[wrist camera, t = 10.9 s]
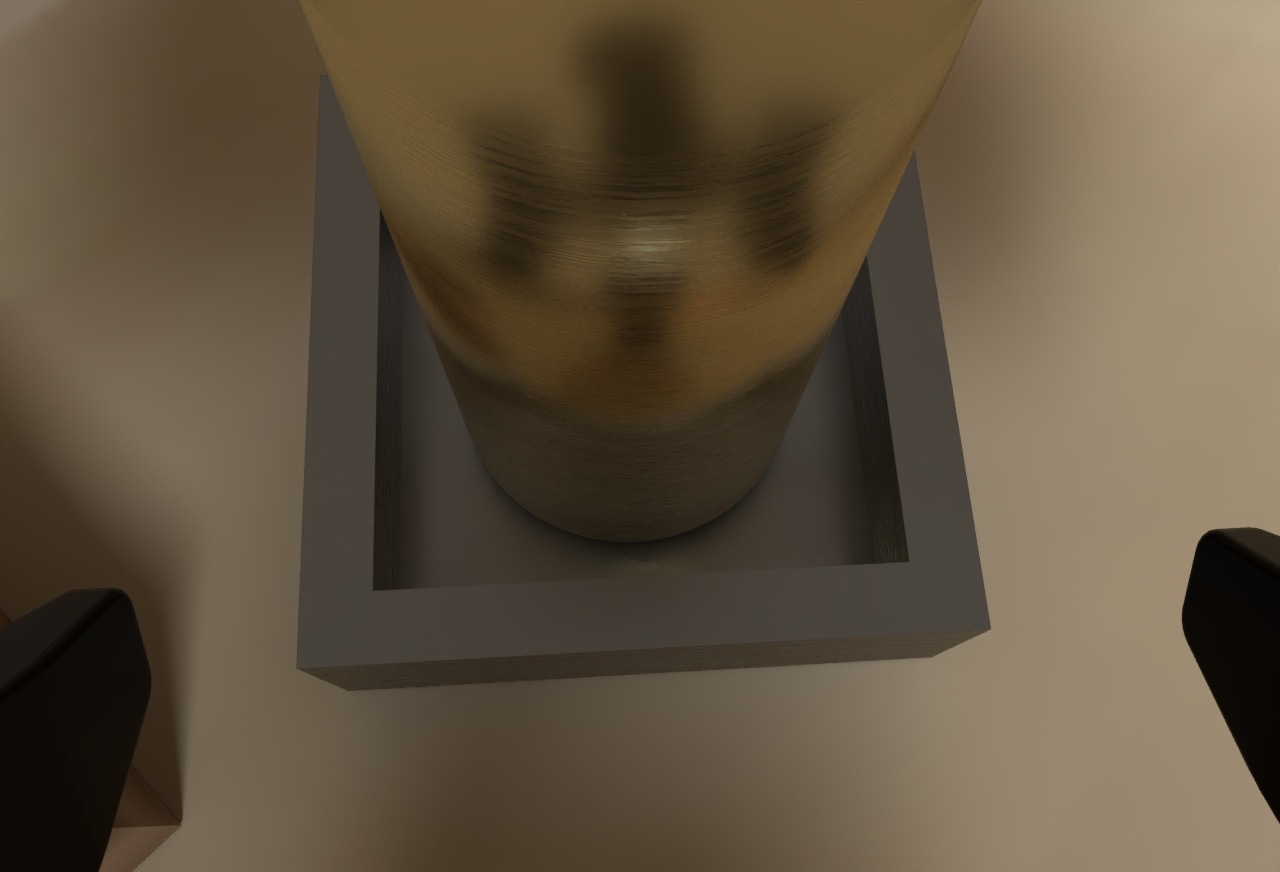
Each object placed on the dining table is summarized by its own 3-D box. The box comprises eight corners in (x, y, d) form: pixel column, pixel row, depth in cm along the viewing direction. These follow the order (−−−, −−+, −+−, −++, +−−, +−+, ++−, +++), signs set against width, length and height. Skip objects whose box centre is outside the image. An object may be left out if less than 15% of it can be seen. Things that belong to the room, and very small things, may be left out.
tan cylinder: (858, 385, 18) (1174, -162, 8) (623, 613, 17) (635, 314, 7) (630, 179, 20) (647, -533, 9) (394, 377, 18) (99, -190, 8)
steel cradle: (860, 156, 21) (898, 54, 18) (931, 657, 18) (990, 629, 15) (361, 175, 21) (320, 75, 18) (348, 690, 18) (296, 668, 15)
